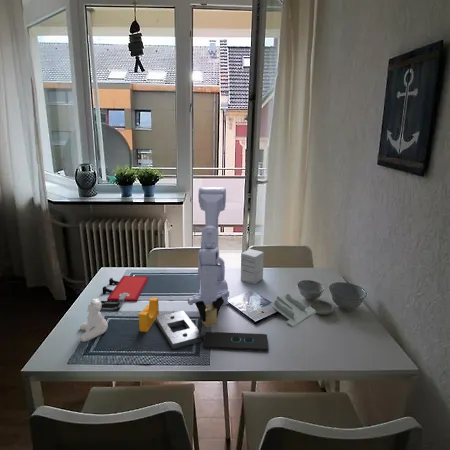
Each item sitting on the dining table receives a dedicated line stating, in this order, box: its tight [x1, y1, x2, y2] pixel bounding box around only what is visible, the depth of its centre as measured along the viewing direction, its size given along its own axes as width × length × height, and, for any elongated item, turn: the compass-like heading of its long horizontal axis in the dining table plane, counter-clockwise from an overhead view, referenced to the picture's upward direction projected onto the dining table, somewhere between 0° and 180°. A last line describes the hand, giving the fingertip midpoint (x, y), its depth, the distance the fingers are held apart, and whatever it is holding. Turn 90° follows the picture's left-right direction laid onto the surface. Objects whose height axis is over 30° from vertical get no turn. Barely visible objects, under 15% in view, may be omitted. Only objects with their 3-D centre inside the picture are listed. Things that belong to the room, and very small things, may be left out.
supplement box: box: [240, 248, 265, 285], centre depth 162 cm, size 7×7×13 cm
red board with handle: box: [100, 275, 150, 311], centre depth 149 cm, size 30×3×15 cm
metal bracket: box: [269, 293, 317, 328], centre depth 135 cm, size 14×6×15 cm
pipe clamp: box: [138, 297, 160, 333], centre depth 127 cm, size 12×4×6 cm, turn 171°
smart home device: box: [202, 331, 269, 353], centre depth 117 cm, size 8×2×20 cm
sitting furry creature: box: [79, 297, 108, 343], centre depth 120 cm, size 10×9×12 cm
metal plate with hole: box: [155, 310, 204, 350], centre depth 123 cm, size 10×18×2 cm, turn 27°
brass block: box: [200, 304, 218, 328], centre depth 127 cm, size 4×4×6 cm
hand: (208, 318), depth 127 cm, fingers closed on brass block, 4 cm apart
